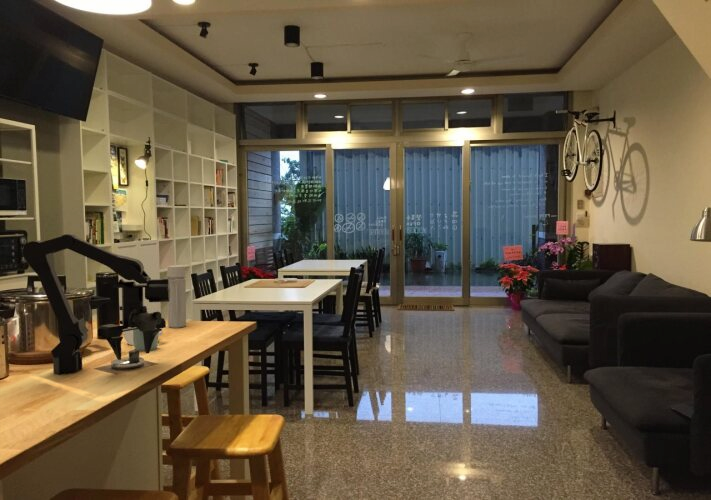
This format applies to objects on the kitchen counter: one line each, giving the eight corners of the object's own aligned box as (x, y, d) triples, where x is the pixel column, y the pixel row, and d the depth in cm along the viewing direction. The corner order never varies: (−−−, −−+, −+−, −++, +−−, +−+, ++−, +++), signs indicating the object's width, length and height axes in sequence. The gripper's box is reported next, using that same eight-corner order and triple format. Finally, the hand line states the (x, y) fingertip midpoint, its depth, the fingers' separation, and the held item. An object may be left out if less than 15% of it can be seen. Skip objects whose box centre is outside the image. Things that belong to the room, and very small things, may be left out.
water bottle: (167, 325, 233) (166, 265, 232) (186, 324, 236) (186, 265, 234) (166, 329, 225) (165, 267, 223) (187, 328, 227) (186, 267, 226)
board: (116, 378, 156) (115, 374, 156) (93, 372, 162) (93, 368, 162) (158, 367, 168) (158, 363, 168) (136, 362, 174) (136, 358, 174)
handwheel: (104, 365, 163) (104, 350, 163) (131, 359, 171) (131, 345, 171) (123, 370, 158) (122, 355, 158) (150, 363, 166) (150, 348, 165)
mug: (123, 345, 198) (123, 322, 197) (140, 339, 207) (140, 317, 207) (153, 347, 195) (153, 324, 194) (169, 341, 205) (169, 319, 204)
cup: (150, 355, 182) (149, 325, 182) (128, 354, 184) (128, 324, 183) (163, 350, 190) (162, 320, 190) (142, 349, 192) (141, 320, 191)
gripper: (120, 309, 149) (121, 367, 150) (177, 301, 165) (178, 353, 166) (96, 305, 156) (97, 361, 157) (153, 298, 171) (154, 348, 172)
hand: (133, 356), depth 163 cm, fingers open, 9 cm apart
